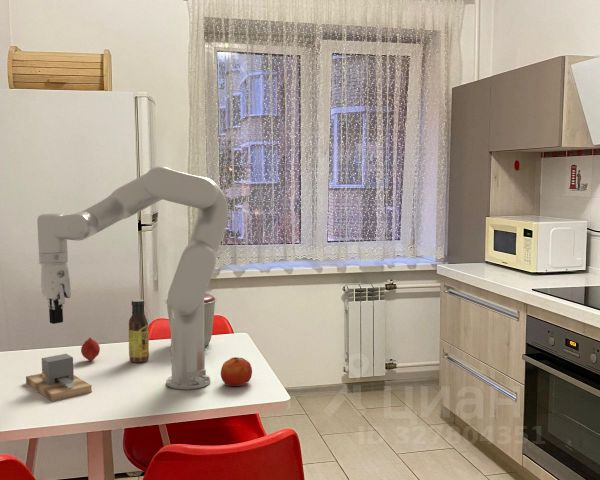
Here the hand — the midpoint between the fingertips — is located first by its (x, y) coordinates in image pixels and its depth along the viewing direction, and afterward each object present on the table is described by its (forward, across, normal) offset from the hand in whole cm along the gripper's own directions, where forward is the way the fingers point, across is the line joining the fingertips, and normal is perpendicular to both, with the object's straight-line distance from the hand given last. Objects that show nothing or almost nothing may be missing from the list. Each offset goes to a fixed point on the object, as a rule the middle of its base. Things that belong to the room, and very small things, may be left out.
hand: (56, 322), depth 183 cm
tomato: (+20, -31, -40) cm, 54 cm away
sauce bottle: (+19, +9, -30) cm, 37 cm away
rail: (+17, 0, 0) cm, 17 cm away
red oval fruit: (+19, +19, -18) cm, 32 cm away
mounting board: (+19, 0, 0) cm, 19 cm away
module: (+17, 0, 0) cm, 17 cm away
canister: (+19, +14, -53) cm, 58 cm away
